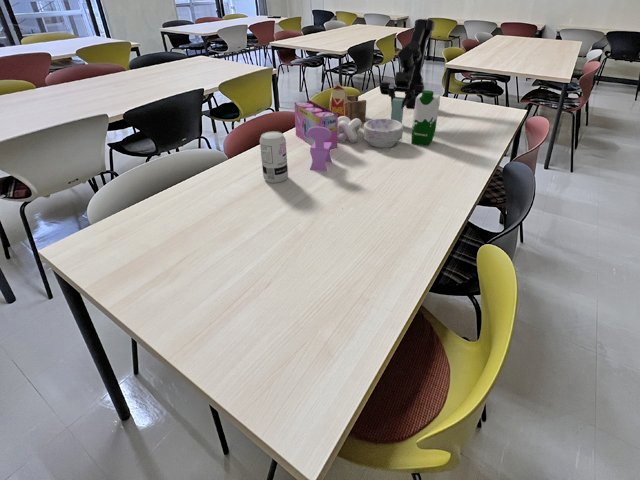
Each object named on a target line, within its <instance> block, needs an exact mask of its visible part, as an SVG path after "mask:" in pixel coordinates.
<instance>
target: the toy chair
mask: <svg viewBox="0 0 640 480" xmlns="http://www.w3.org/2000/svg"><path fill="white" fill-rule="evenodd" d="M308 135H309V137H311V138H312V139H313V140H315V141H314V143H313V145H312V146H311V145H310V148H309V153H310V157H311V166H310V167H309V171H310V170H311V171H323V172H328V168H327V165H326V162H327V163H332V162H333V161H332V157H331V148H332V142H325V141H326V140H328V139H329V138H330V137H331V135H332V132H331V131H330V130H329V129H327V128H325V127H319V126H315V127H311V128H309V129H308Z"/></svg>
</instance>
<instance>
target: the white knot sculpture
mask: <svg viewBox="0 0 640 480" xmlns="http://www.w3.org/2000/svg"><path fill="white" fill-rule="evenodd" d="M361 126H362V122H361V120H360V119H358V118H355V119H353V120H352V121H351V120H350V119H349V118H348V117H346V116H341V117H339V118H338V126H337V129H338V132H337V143H338V142H340V143H342V142H345V141H346V140H349V141H350V142H351V143H353V144H354V143H357V141H358V135H357V133H358V131H360V129H361ZM339 130H340V132H339Z"/></svg>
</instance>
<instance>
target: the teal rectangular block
mask: <svg viewBox="0 0 640 480" xmlns="http://www.w3.org/2000/svg"><path fill="white" fill-rule="evenodd" d="M404 98H405V97H399V96H396V97H395V98H394V99H393V100H392V107H391V113H390V119H392V120H396V121H399V122H401V123H402V124H403V118H404V117H403V115H404V108H403V109H402V103H403V101H404Z"/></svg>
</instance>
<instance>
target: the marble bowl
mask: <svg viewBox="0 0 640 480" xmlns="http://www.w3.org/2000/svg"><path fill="white" fill-rule="evenodd" d="M403 133H404V124H403V122H402V123H401V122H399V121H396V120H392V119H391V118H374V119H373V118H372V119H369V120H368V121H367V120H366V121H365V122H364V124H363V138H364V139H365V140H366V141H368V143H369V145H371V146H373V147H375V148H381V149H384V148H385V149H386V148H390V147H393V146H394V145H396V143H397V142H400V140H402V139H403Z"/></svg>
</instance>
